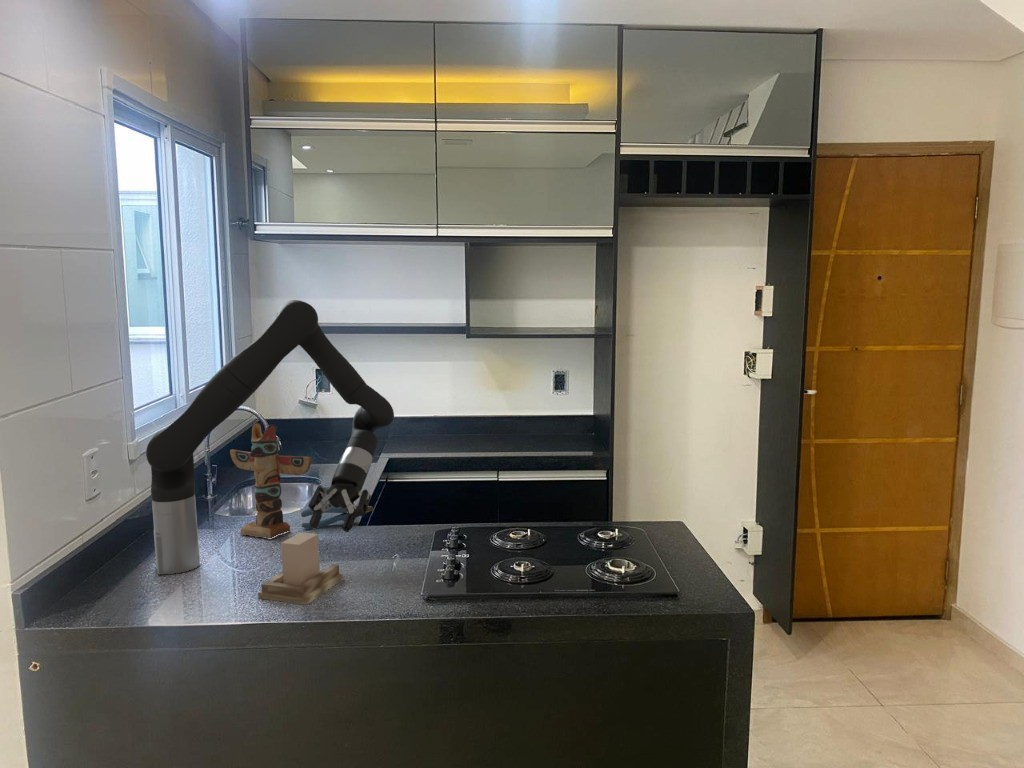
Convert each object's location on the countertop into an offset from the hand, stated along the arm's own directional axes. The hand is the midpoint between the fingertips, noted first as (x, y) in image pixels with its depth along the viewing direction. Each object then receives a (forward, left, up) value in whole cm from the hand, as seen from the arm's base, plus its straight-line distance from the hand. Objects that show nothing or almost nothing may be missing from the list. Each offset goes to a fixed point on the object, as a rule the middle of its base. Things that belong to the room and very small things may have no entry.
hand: (328, 529), depth 163 cm
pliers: (+11, +33, -10) cm, 36 cm away
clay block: (-8, -8, -8) cm, 14 cm away
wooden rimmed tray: (-9, -8, -10) cm, 15 cm away
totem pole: (-8, +36, -10) cm, 38 cm away
